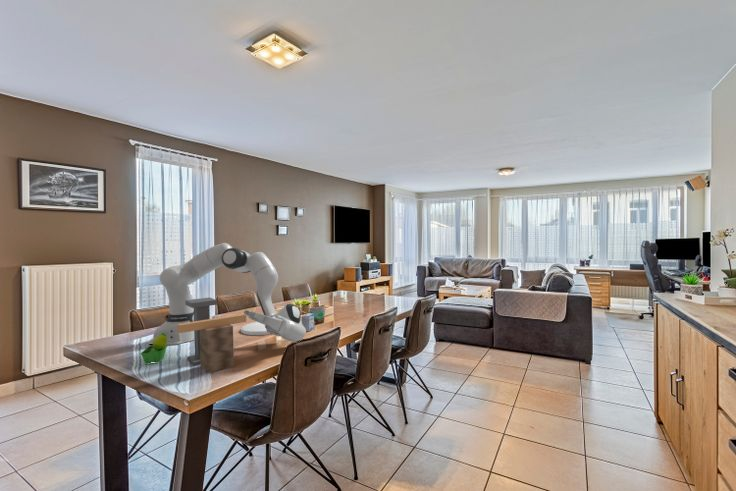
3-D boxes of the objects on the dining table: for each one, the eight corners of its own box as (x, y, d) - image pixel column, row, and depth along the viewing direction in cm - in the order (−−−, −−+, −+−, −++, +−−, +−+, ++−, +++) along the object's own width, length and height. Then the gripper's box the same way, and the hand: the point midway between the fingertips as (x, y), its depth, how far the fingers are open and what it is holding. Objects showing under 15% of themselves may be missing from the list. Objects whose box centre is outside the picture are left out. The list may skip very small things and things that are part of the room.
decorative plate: (295, 321, 206) (257, 330, 187) (295, 328, 206) (257, 338, 187) (269, 316, 222) (232, 324, 203) (269, 323, 222) (232, 331, 203)
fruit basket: (149, 357, 159) (148, 332, 159) (171, 355, 162) (170, 330, 162) (140, 365, 148) (139, 338, 148) (164, 363, 151) (163, 336, 151)
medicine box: (309, 331, 198) (309, 316, 198) (301, 331, 199) (301, 316, 198) (314, 328, 206) (314, 313, 205) (307, 328, 206) (306, 313, 206)
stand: (211, 354, 161) (209, 297, 160) (218, 360, 153) (217, 300, 153) (187, 360, 154) (185, 300, 154) (193, 366, 147) (191, 303, 146)
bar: (243, 320, 155) (243, 313, 155) (246, 321, 152) (246, 314, 152) (177, 331, 138) (177, 324, 138) (179, 333, 135) (179, 325, 135)
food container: (317, 325, 211) (316, 309, 211) (309, 324, 214) (309, 308, 214) (330, 321, 222) (329, 305, 221) (322, 320, 225) (322, 304, 225)
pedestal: (225, 360, 153) (224, 322, 153) (233, 366, 146) (232, 326, 145) (200, 366, 146) (199, 326, 146) (208, 372, 139) (207, 330, 139)
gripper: (267, 314, 172) (243, 303, 164) (288, 321, 156) (262, 309, 148) (262, 327, 170) (236, 316, 162) (282, 335, 154) (255, 324, 146)
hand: (249, 313), depth 155 cm, fingers open, 8 cm apart
